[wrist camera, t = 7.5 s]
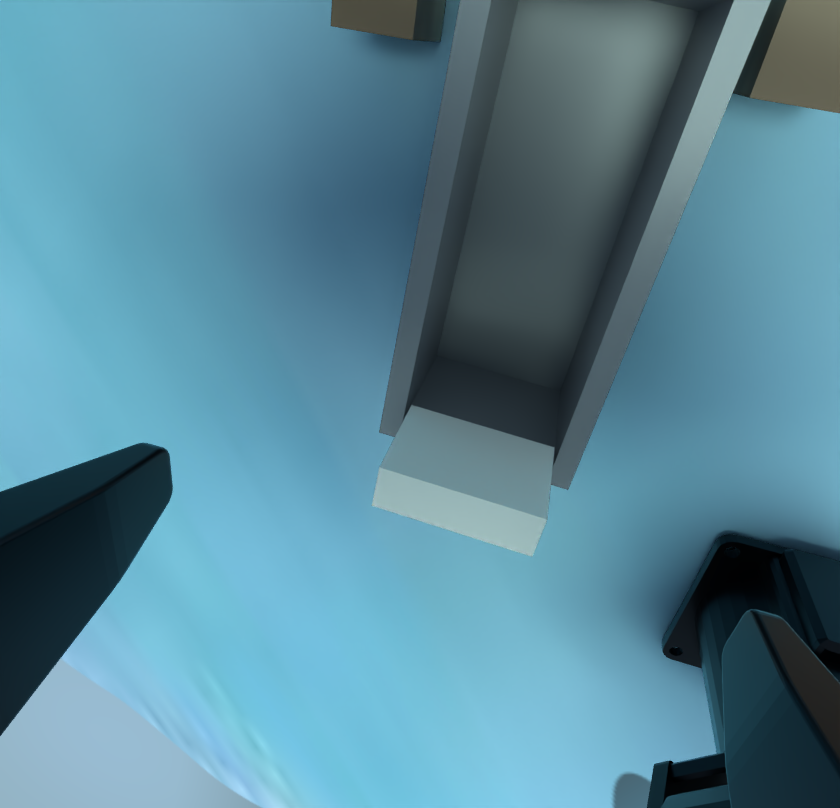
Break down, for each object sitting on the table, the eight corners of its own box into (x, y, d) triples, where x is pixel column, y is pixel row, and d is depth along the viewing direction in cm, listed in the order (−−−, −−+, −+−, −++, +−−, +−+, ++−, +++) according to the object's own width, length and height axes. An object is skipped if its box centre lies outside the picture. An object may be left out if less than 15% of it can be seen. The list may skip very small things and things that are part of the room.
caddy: (573, 402, 21) (563, 566, 14) (420, 358, 22) (342, 496, 15) (731, -12, 15) (845, -64, 8) (510, -57, 15) (444, -143, 9)
